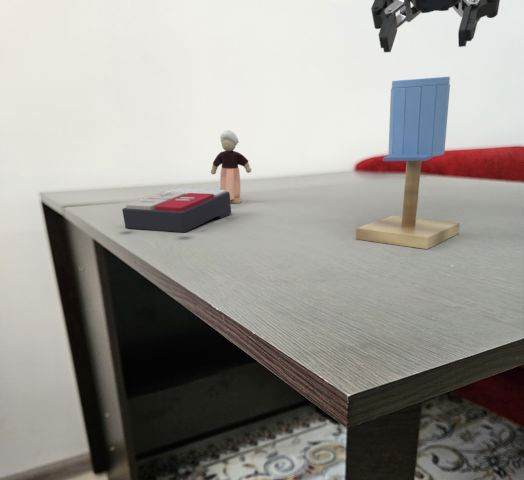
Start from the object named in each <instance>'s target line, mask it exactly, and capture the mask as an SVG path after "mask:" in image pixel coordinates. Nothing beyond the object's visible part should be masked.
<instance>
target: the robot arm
mask: <svg viewBox="0 0 524 480" xmlns="http://www.w3.org/2000/svg"><path fill="white" fill-rule="evenodd" d="M500 1H501V0H373V3H372V5H371V8H370V10H371V15H372V16H371V17H372V21H373V26H374V29H375V30H379V32H378V41H379V46H380V49H383V53H392V49H393V47H394V43H395V40H396V36H397V33H398V28H399V27H401V26H402V25H404V24H405V22H407V23H411V22H412V21H413V20H414V19H416V18H417V17H418V16H419V15H420V14H428V13H431V12H437V11H438V12H446V11H449V10H450V9H451V8H452V9H453V10H454V11H455V12H456V14H457V15H458V16H459V17H461V20H460V23H459V27H458V32H457V33H458V34H457V36H458V40H457V41H458V48H462V47H466V46H467V43H468V42H471V41H472V40H473V39H474V37H475V34H476V30H477V27H478V26H477V25H478V22H480V19H481V18H484V17H486V18H489V19H493V18H495V17H497V16H498V14H499V9H500ZM411 4H412V5H411ZM398 12H399V13H398ZM397 13H398V14H397Z"/></svg>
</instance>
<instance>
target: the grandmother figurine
mask: <svg viewBox="0 0 524 480" xmlns="http://www.w3.org/2000/svg"><path fill="white" fill-rule="evenodd" d="M219 139H220V143H221V147H222V149H223V151H220V152H219V153H218V154H217V155H216V157H215V159H214V160H213V162H212V166H211V169H210V174H211V175H216V173H217V170H218V169H219V167H220V166H221V168H220V175H219V177H220V178H219V179H220V181H219V184H220V186H219V187H220V188H219V190H226V192H229V193H230V204H241V202H242V201H241V199H240V198H241V174H240V173H241V172H240V168H239V166H241V167H243V168H244V169H245V172H246V173H247V174H249V173H251V172H252V168H251V167H250V166H251V165H250V164H249V159H247V158H246V156H244V155H243V154H241V152H238V151H235V149H236V146H237V145H238V144H239V143H240V141H239V138H238V137H237V135H236V133H234V132H233V131H231V130H229V129H228V130H224V131H222V132H221V134H220V138H219Z"/></svg>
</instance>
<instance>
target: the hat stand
mask: <svg viewBox="0 0 524 480" xmlns="http://www.w3.org/2000/svg"><path fill="white" fill-rule="evenodd" d="M421 169H422V161H406V165H405V175H404V189H403V199H402V200H403V201H402V213H401V216H399V215H398V216H397V215H389V216H387V217H384V218H381V219H377V220H375V221H373V222H369V223H367V224H364V225H361V226H358V227H356V228H355V240H357V241H366V242H374V243H380V244H387V245H394V246H401V247H408V248H416V249H423V250H429V249H430V248H433V247H435V246H437V245H439V244H441V243H443V242H445V241H447V240H449V239H451V238H453V237H455V236H457V235H459V231H460V223H461V222H455V221H446V220H436V219H427V218H419V217H417V215H418V214H417V212H418V201H419V191H420V181H421V171H422V170H421Z"/></svg>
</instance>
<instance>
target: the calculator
mask: <svg viewBox="0 0 524 480" xmlns="http://www.w3.org/2000/svg"><path fill="white" fill-rule="evenodd" d="M230 202H231V199H230V193H229V192H226V190H220V189H210V188H209V189H207V188H182V187H181V188H180V187H178V188H177V187H176V188H172V189H169V190H167V191H160V192H158V193H154V194H152V195H148V196H146V197H145V198H141V199H137V200H135V201H133V202H129V203H127V204H125V207H123V208H121V209H122V210H121V212H122V216H123V222H124V227H125V229H132V230H143V231H144V230H146V231H158V232H172V233H187V232H188V231H190V230H193V229H195V228H197V227H199V226H201V225H203V224H205V223H207V222H209V221H211V220H213V219H223V218H225V217H227V216H229V215H231V213H232V206H231V205H232V204H231V203H230Z"/></svg>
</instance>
